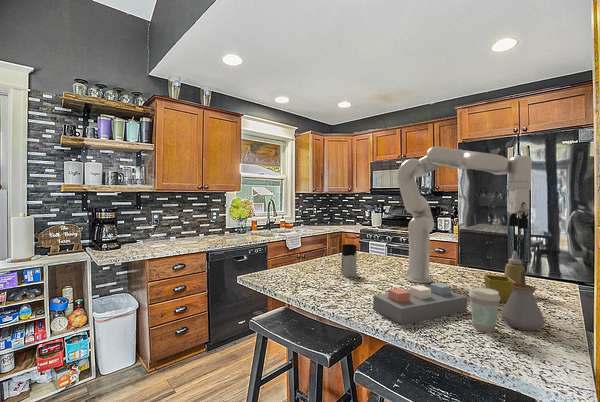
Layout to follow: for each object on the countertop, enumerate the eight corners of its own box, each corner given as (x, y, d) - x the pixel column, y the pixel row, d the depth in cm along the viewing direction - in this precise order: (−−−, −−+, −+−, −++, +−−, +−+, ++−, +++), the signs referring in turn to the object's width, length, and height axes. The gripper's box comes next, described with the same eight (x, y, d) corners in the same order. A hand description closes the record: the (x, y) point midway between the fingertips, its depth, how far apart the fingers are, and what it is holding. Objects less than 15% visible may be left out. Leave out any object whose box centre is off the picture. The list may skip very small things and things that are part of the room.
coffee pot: (545, 337, 88) (547, 287, 88) (499, 326, 95) (500, 280, 95) (542, 315, 105) (543, 273, 105) (502, 307, 112) (504, 267, 112)
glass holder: (358, 276, 153) (359, 246, 152) (330, 275, 153) (331, 246, 153) (355, 271, 161) (356, 244, 161) (329, 271, 162) (329, 243, 161)
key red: (388, 303, 105) (388, 289, 105) (399, 302, 108) (399, 288, 107) (398, 308, 101) (398, 294, 101) (409, 306, 103) (409, 292, 103)
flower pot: (507, 298, 123) (508, 276, 123) (515, 305, 115) (515, 282, 114) (483, 295, 126) (483, 274, 126) (488, 302, 117) (489, 279, 117)
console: (373, 308, 108) (373, 295, 108) (435, 298, 121) (435, 286, 121) (400, 324, 96) (400, 308, 96) (466, 310, 108) (467, 297, 108)
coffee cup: (461, 322, 98) (463, 286, 98) (486, 322, 98) (487, 286, 98) (479, 335, 89) (481, 295, 89) (506, 334, 90) (507, 294, 90)
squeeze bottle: (529, 296, 126) (530, 253, 126) (508, 294, 128) (509, 252, 127) (519, 290, 134) (520, 250, 134) (499, 288, 136) (500, 249, 135)
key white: (409, 300, 110) (410, 286, 109) (419, 298, 112) (420, 285, 112) (420, 304, 105) (420, 290, 105) (430, 303, 107) (431, 289, 107)
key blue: (429, 296, 114) (430, 283, 114) (439, 295, 116) (439, 282, 116) (440, 301, 109) (441, 287, 109) (450, 299, 111) (450, 286, 111)
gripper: (501, 186, 133) (500, 225, 134) (517, 185, 117) (515, 229, 117) (521, 187, 131) (519, 225, 132) (539, 185, 115) (538, 230, 115)
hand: (517, 227), depth 124 cm, fingers open, 9 cm apart
